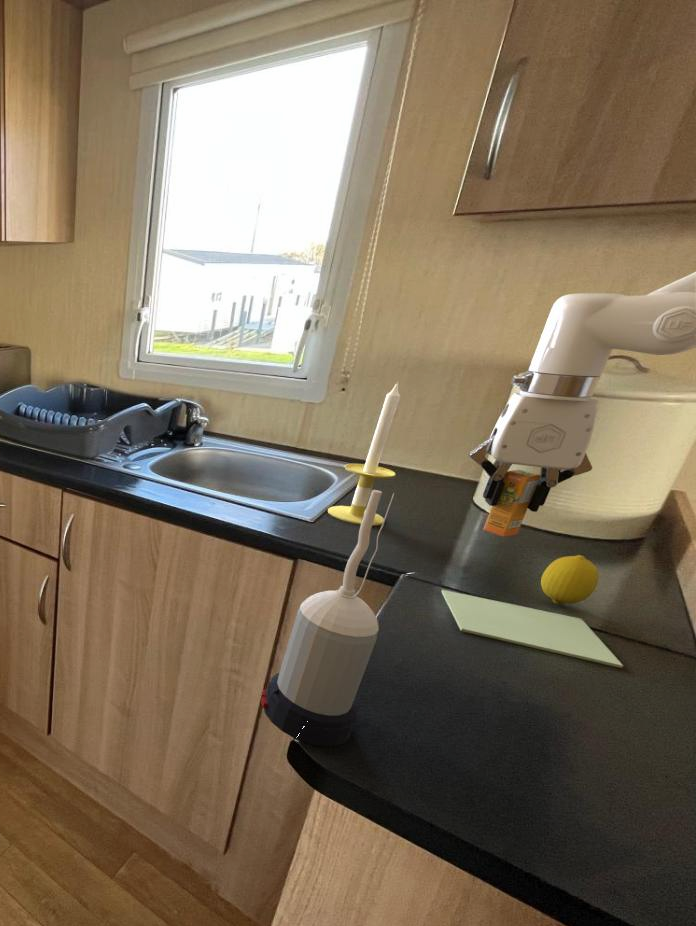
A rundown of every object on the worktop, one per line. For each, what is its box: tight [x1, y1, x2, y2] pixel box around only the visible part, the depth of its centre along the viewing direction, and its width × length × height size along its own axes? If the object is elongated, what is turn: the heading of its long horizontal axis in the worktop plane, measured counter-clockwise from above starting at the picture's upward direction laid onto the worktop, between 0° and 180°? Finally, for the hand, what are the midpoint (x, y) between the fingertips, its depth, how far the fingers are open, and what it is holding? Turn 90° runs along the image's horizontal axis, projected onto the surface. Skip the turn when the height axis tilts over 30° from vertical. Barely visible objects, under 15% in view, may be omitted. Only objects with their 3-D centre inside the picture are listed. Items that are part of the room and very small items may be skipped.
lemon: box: [540, 554, 599, 606], centre depth 79 cm, size 6×6×8 cm
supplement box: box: [482, 469, 540, 538], centre depth 85 cm, size 3×3×10 cm
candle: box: [327, 380, 401, 527], centre depth 106 cm, size 10×10×27 cm
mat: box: [440, 589, 624, 669], centre depth 75 cm, size 16×12×1 cm
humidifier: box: [260, 489, 395, 748], centre depth 52 cm, size 8×8×25 cm
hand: (510, 504), depth 85 cm, fingers closed on supplement box, 4 cm apart
